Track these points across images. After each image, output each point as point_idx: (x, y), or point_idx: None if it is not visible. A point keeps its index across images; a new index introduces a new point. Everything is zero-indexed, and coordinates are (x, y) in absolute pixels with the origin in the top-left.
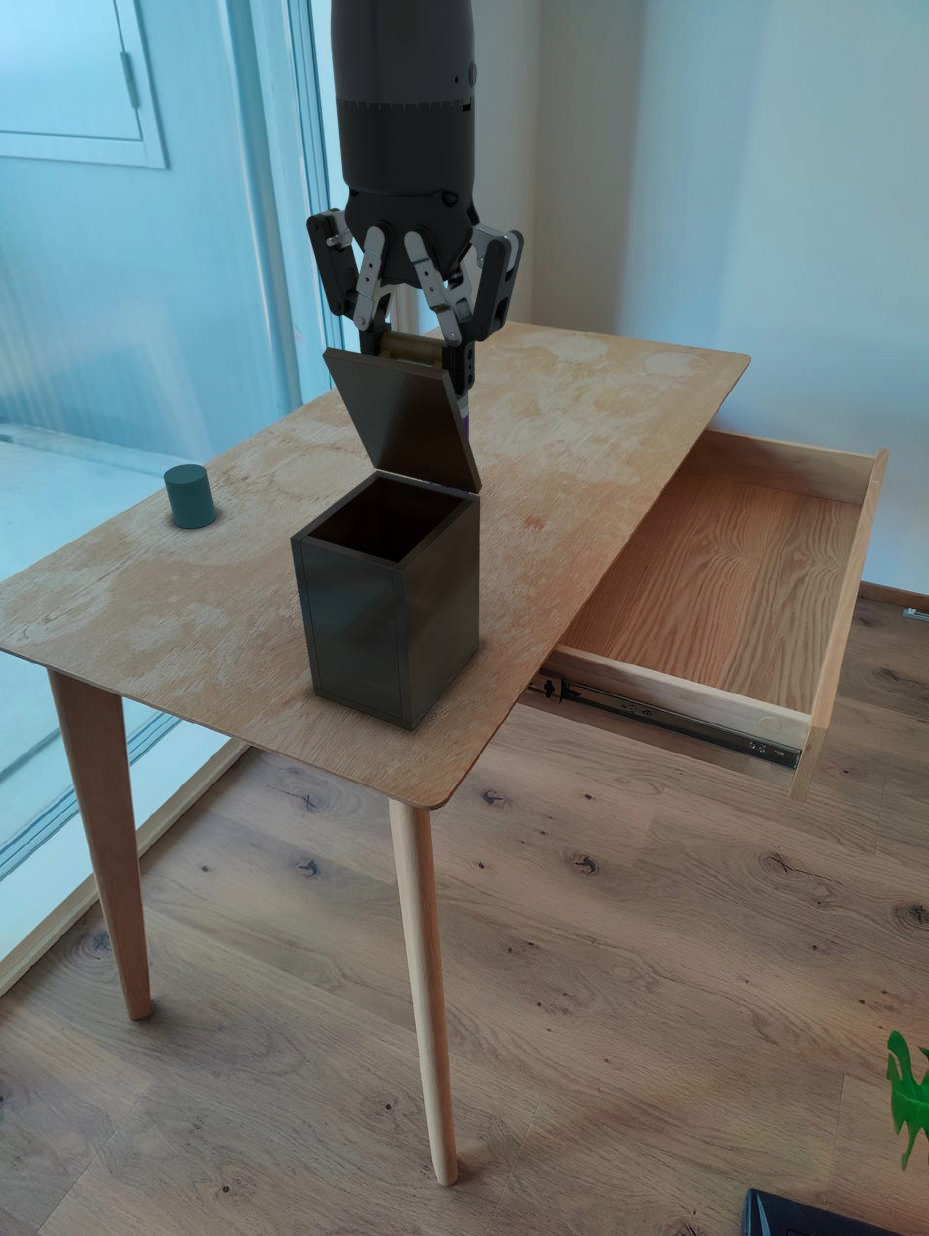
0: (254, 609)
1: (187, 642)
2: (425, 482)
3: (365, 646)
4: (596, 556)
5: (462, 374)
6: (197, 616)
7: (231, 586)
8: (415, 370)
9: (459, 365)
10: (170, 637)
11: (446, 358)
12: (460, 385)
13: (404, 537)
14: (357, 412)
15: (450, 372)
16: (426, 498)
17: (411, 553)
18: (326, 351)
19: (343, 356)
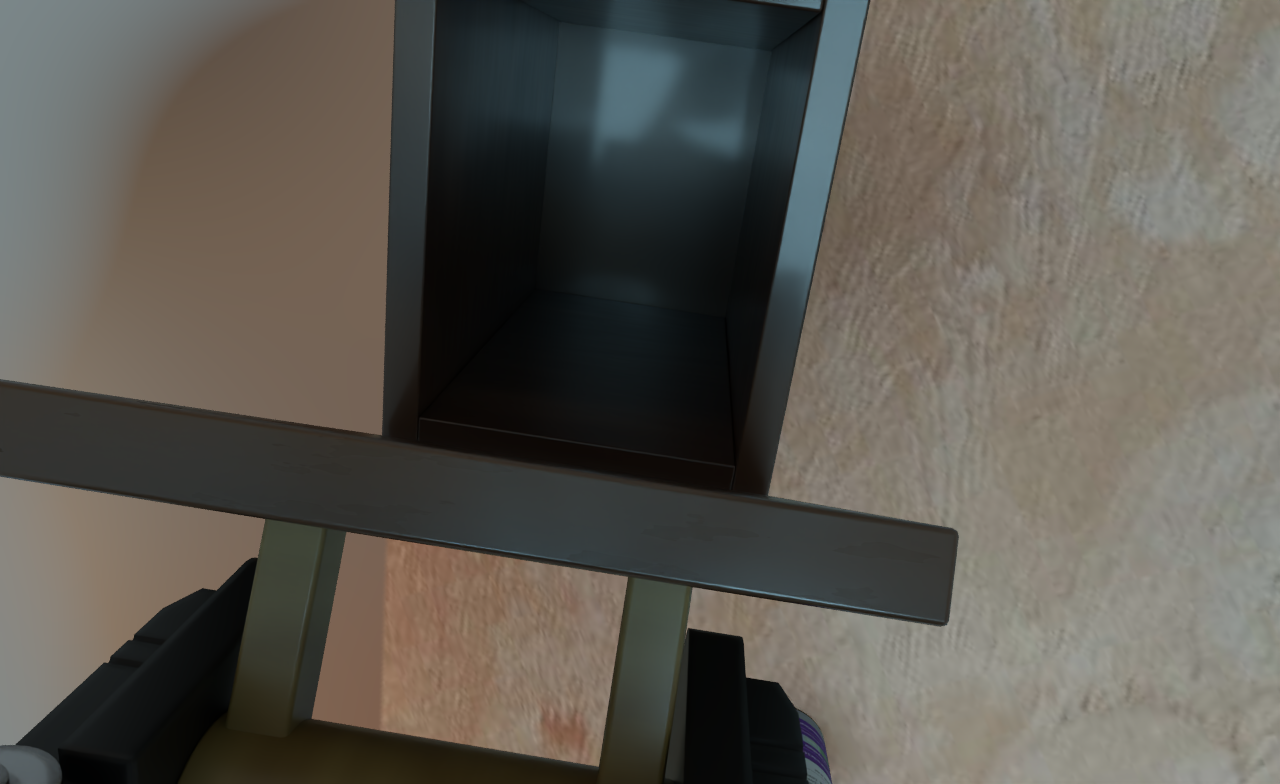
0: (1065, 265)
1: (1182, 93)
2: (814, 772)
3: None
4: (404, 653)
5: (128, 657)
6: (1200, 194)
7: (1161, 329)
8: (163, 438)
9: (111, 690)
10: (1236, 96)
11: (145, 700)
12: (181, 619)
13: (665, 383)
14: (771, 497)
15: (169, 642)
16: (565, 424)
17: (424, 33)
18: (936, 571)
19: (775, 533)
